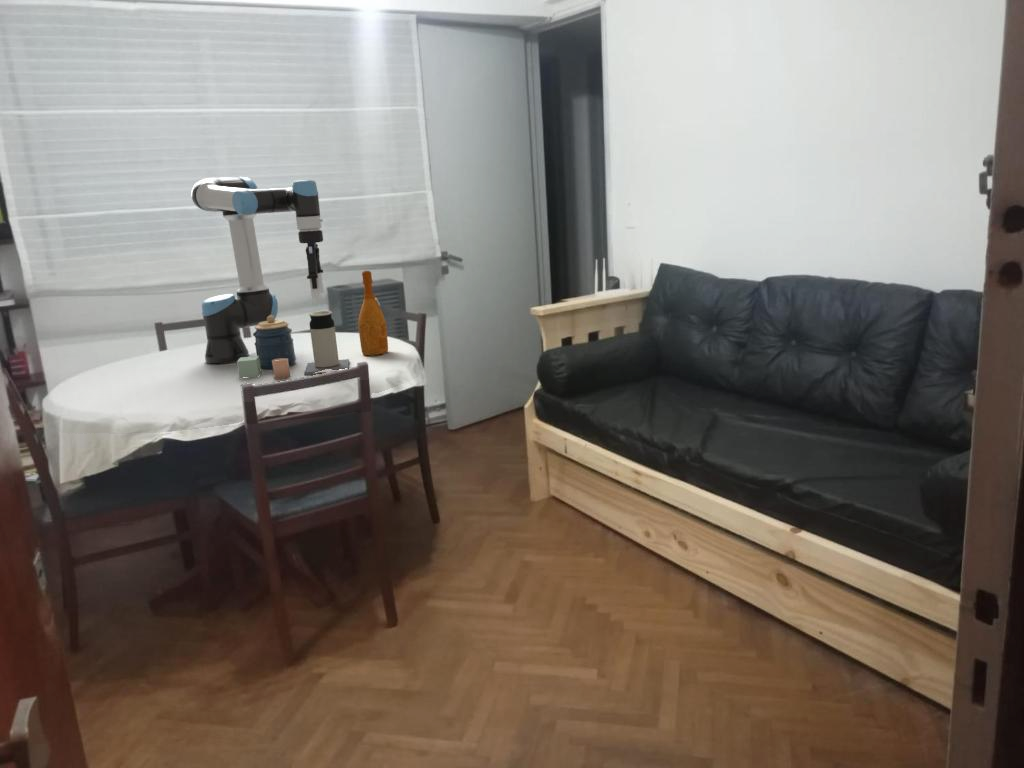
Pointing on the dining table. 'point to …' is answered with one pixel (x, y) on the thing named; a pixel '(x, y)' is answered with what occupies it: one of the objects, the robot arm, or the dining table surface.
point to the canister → (273, 342)
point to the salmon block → (281, 368)
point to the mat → (312, 368)
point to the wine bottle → (371, 322)
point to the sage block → (249, 366)
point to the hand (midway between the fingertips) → (318, 295)
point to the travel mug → (323, 339)
